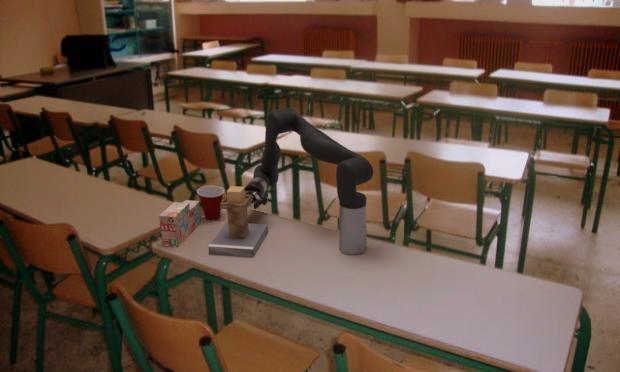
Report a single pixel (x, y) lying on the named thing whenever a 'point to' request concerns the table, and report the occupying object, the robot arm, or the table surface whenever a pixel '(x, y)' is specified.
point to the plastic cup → (211, 201)
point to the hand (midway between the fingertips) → (243, 205)
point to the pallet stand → (237, 217)
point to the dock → (238, 241)
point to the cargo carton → (236, 195)
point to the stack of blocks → (179, 222)
